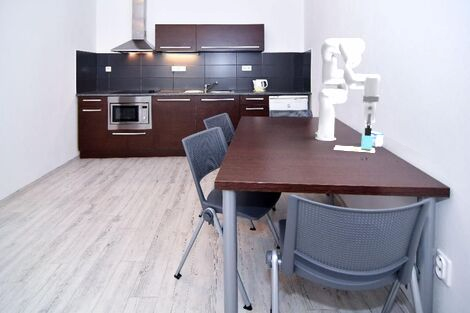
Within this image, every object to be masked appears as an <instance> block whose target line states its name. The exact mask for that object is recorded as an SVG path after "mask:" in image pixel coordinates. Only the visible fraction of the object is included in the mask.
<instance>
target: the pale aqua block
mask: <svg viewBox="0 0 470 313" xmlns="http://www.w3.org/2000/svg"><path fill="white" fill-rule="evenodd" d="M360 142H361V144H360V147H361V149H372V148H373V146H372V144H373V135H371V136H365V134H361V141H360Z"/></svg>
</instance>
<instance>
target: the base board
mask: <svg viewBox="0 0 470 313" xmlns="http://www.w3.org/2000/svg"><path fill="white" fill-rule="evenodd" d="M333 150H334V151H335V150H336V151H347V152H363V153H364V152H365V153H375V152H376V150H375V148H374V147H372V149H369V150H364V149H361V146H349V145H348V146H347V145H335V147H334V148H333Z"/></svg>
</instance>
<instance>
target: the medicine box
mask: <svg viewBox="0 0 470 313" xmlns="http://www.w3.org/2000/svg"><path fill="white" fill-rule="evenodd" d="M371 135H373V144H372V147H376V148H377V147H383V142H384V140H383V139H384V133H382V132H377V131H372V130H371Z"/></svg>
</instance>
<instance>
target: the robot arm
mask: <svg viewBox="0 0 470 313" xmlns="http://www.w3.org/2000/svg"><path fill="white" fill-rule="evenodd" d="M365 49H366V45H365V42H364V41H363V39H361V38H351V37H350V38H348V37H347V38H327V39H326V40H324V41H323V42H322V45H321V49H320V50H321V59H322V71H321V82H322V84H323V85H324V86H336V87H324V88H322V89H320V90H319V91H318V96H317V97H318V102H319V103H318V104H319V105H318V107H319V108H318V110H319V111H318V130H317V131H315V134H316V136H314V139H315V140H317V141H324V142H325V141H327V142H328V141H329V142H330V141H336V140H337V138H336V136H334V135H335V122H336V121H335V119H336V110H335V107H334V105H333V104H344V103H345V102H346V101H347V99H348V93H349V90H348V89H351V90H363V91H362V92H363V95H362V103H364V115H363V116H364V122H365V127H364V135H365V136H371V131H372V124H374V123H376V115H377V114H376V112H377V104H379V99H380V89H381V88H380V86H381V85H380V84H381V75H379V74H368V73H367V74H365V73H363V74H362V73H356V74H355V73H354V72H353V70H352V69H354V68H356V67H357V66H359V65H360V64H361V62H362V57H361V54H363V53H364V51H365ZM335 55H341V58H342V59H343V62H344V66H343V69H338V60H337V58H336V56H335Z"/></svg>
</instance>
